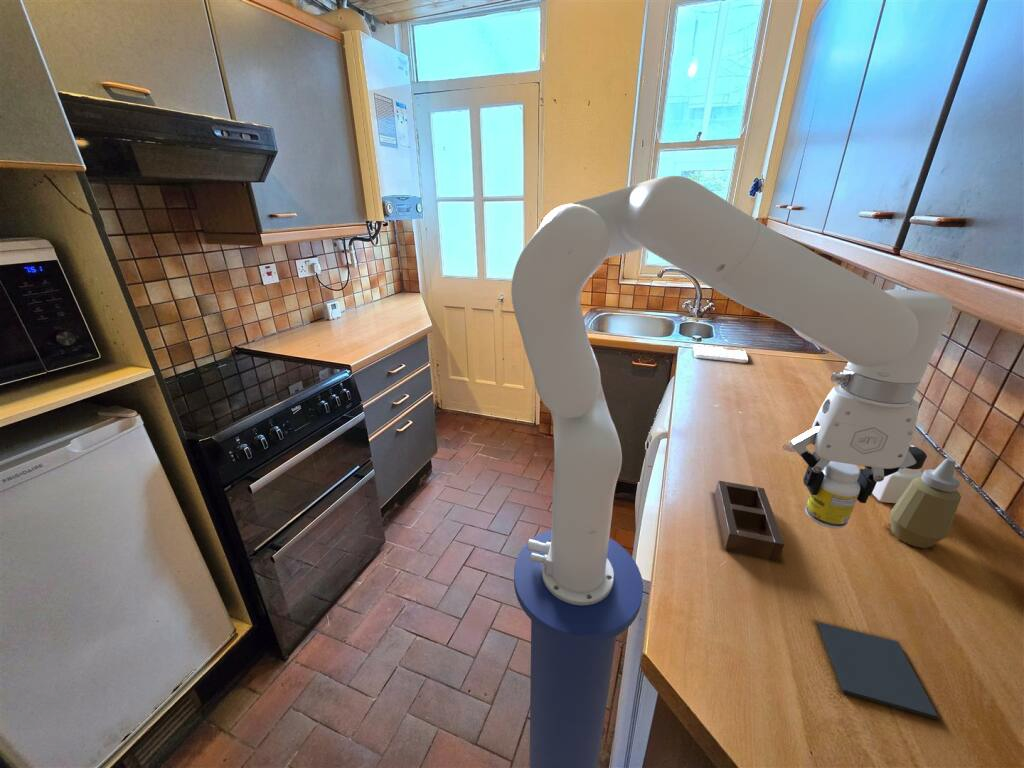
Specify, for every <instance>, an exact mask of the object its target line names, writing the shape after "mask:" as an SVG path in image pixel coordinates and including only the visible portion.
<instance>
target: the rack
mask: <svg viewBox="0 0 1024 768" xmlns="http://www.w3.org/2000/svg"><path fill="white" fill-rule="evenodd" d="M714 498H715V504H716V511H717V516H718V521H719V525H720V531H721V536H722V541H723V547H724V550H726V551H729V552H734V553H739V554H745V555H750V556H754V557H758V558H763V559H768V560H772V561H776V562H779V561H780V558H781V557H782V554H783V550H784V547H785V541H784V540H783V537H782V534H781V530H780V529H779V525H778V524H777V520H776V518H775V517H776V516H775V515H774V512H773V510H772V507H771V504H770V501H769V498H768V496H767V493H766V489H765V488H764V487H759V486H753V485H749V484H748V485H747V484H741V483H735V482H729V481H725V480H717V483H716V487H715V491H714ZM739 504H740V505H739ZM746 505H747V506H746ZM750 506H752V507H750ZM737 527H741V528H746V529H752V530H757V531H760V533H761V534H760V533H757V532H756V533H755V532H750V531H745V530H741V529H738V528H737Z"/></svg>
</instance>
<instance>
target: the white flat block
mask: <svg viewBox="0 0 1024 768" xmlns="http://www.w3.org/2000/svg"><path fill="white" fill-rule="evenodd" d="M699 345H700V346H701V347H700V346H699ZM698 346H699V347H698ZM709 346H710V347H709ZM713 346H714V345H705V346H704V344H693V356H694V358H697V359H704V360H705V359H706V360H714V361H723V362H734V363H742V364H743V363H744V364H746V363H748V362H749V357H748V354H747V352H746V350H745V349H743V350H744V351H741V350H727V349H724V348H726V347H724V348H723V346H715V347H713Z"/></svg>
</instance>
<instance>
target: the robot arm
mask: <svg viewBox="0 0 1024 768" xmlns="http://www.w3.org/2000/svg"><path fill="white" fill-rule="evenodd" d="M541 221H542V222H541V223H540V226H539V228H538V229H537V230H536V231H535V233H534V234H533V235H532V236H531V238H530V239H529V240H528V241H527V243H526V245H525V247H523V249H522V251H521V253H520V255H519V257H518V259H517V261H516V264H515V267H514V270H513V274H512V279H511V286H510V287H511V288H510V289H511V291H510V292H511V295H510V296H511V304H512V309H513V313H514V316H515V320H516V323H517V326H518V329H519V333H520V336H521V341H522V343H523V347H524V351H525V354H526V357H527V360H528V363H529V366H530V370H531V373H532V377H533V380H534V381H533V382H534V385H535V388H536V392H537V394H538V396H539V399H540V400H541V402H542V403H543V404H544V406H545V407H546V408H547V409H548V410H549V412H550V415H551V419H552V426H553V427H552V429H553V443H554V444H553V446H554V448H553V450H554V456H553V457H554V460H553V461H554V464H553V465H554V467H553V468H554V469H553V482H552V502H551V503H552V510H551V511H552V512H551V515H552V516H551V529H552V535H551V542H546V544H545V543H541V542H539V541H536V540H532V538H529V539H528V541H527V542H528V548H527V549H528V550H530V551H534V552H540V553H544V556H542V555H539V554H536V553H532V554H531V559H530V560H531V561H534V562H540V563H542V578H543V581H544V583H545V586H546V587H547V588H548V590H549V591H550V592H551V593H552V594H553V595H554V596H556V597H557V598H558V599H560V600H562V601H564V602H566V603H570V604H573V605H581V606H582V605H591V604H595V603H597V602H599V601H601V600H603V599H604V598H605V597H607V595H608V594H609V593H610V591H611V589H612V587H613V582H614V572H613V568H612V565H611V563H610V562H609V560H608V558H607V553H608V544H609V538H610V534H611V525H612V518H613V508H614V500H615V499H614V498H615V492H616V488H617V483H618V480H619V476H620V473H621V469H622V464H623V452H622V445H621V442H620V437H619V435H618V431H617V429H616V426H615V423H614V421H613V419H612V415H611V413H610V410H609V407H608V403H607V400H606V397H605V393H604V389H603V385H602V377H601V370H600V366H599V363H598V360H597V357H596V354H595V352H594V350H593V347H592V345H591V342H590V339H589V335H588V332H587V328H586V327H587V326H586V322H585V317H584V314H583V310H582V303H581V298H582V293H583V289H584V287H585V285H586V284H587V282H588V281H589V279H590V278H591V277H593V275H594V274H595V273H596V272H597V271H598V270H599V269H600V268H601V266H602V265H603V264H604V262H605V260H607V259H609V258H610V259H611V258H614V257H618V256H621V255H626V254H629V253H632V252H636V251H638V250H643V249H645V250H647V251H649V252H650V253H652V254H654V255H655V256H657V257H658V258H660V259H661V260H663V261H665V262H667V263H669V264H670V265H672V266H674V267H676V268H677V269H680V271H682V272H684V273H686V274H687V275H689V276H691V277H692V278H694V279H696V280H697V281H700V282H701V283H703V284H704V285H706V286H707V287H709V288H711V289H712V290H714V291H716V292H718V293H720V294H721V295H722V296H725V297H726V298H729V299H730V300H732V301H733V302H736V303H737V304H740V305H741V306H743V307H745V308H748V309H750V310H752V311H754V312H757V313H760V314H762V315H765V316H767V317H770V318H772V319H774V320H776V321H778V322H780V323H782V324H785V326H787V327H789V328H791V329H792V330H793V331H794V332H795V334H797V335H798V336H799V337H801V338H802V339H803V340H805V341H807V342H809V343H811V344H812V345H815V346H816V347H819V348H821V349H824V350H825V351H828V352H829V353H831V354H833V355H835V356H837V357H839V358H840V359H842V360H844V361H846V362H847V363H846V366H844V367H843V370H842V372H841V371H840V372H833V373H831V376H830V382H831V383H836V384H838V385H834V386H833V387H832V388H831V390H830V392H829V393H828V394H827V396H826V397H825V399H824V401H823V403H822V404H821V406H820V408H819V410H818V412H817V413H816V416H815V419H814V421H813V423H812V425H811V428H810V429H809V430H807V431H805V432H804V433H802V434H800V435H798V436H797V437H794V438H793V439H791V440H790V441H789V444H790V447H791V448H792V449H793V450H794V451H795V452H796V453H797V455H799V456H800V457H801V458H802V459H803V461H804V462H805V463H806V464H807V468H806V471H805V474H804V476H803V480H802V481H803V484H804V486H805V487H806V488H807V490H808V492H809V495H810V494H811V495H817V494H818V492H819V489H820V487H821V484H822V481H823V479H824V473H823V472H822V470H824V469H825V467H826V466H827V465H828V464H829V462H830V461H834V462H840V463H847V464H854V465H856V466H863V467H864V468H859V469H860V475H859V477H858V480H857V481H858V482H859V484H860V488H861V489H860V492H859V495H858V497H857V500H856V501H858V502H859V503H861V504H867V501H868V499H869V496H872V495H873V494H872V492H873V490H874V488H875V485H876V483H877V482H881V481H883V480H884V477H886V476H888V475H891V474H893V473H896V472H897V471H898V470H899V469H903V468H906V467H909V466H912V465H914V464H916V460H915V459H914V457H913V456H912V454H911V453H910V451H909V450H908V449H909V447H910V445H912V441H913V438H914V434H915V430H916V427H917V421H918V416H919V408H920V403H919V401H917V400H916V399H915V398H914V397H915V395H916V393H917V390H918V388H919V386H920V384H921V381H922V379H923V377H924V375H925V372H926V370H927V368H928V366H929V364H930V361H931V359H932V357H933V354H934V352H935V350H936V348H937V346H938V344H939V341H940V339H941V337H942V334H943V333H944V330H945V328H946V326H947V323H948V321H949V319H950V317H951V314H952V311H953V303H952V301H951V300H950V298H948V297H946V296H943V295H942V294H938V293H933V292H928V291H922V290H913V289H885V290H884V289H882V288H880V287H879V286H877V285H875V283H873V282H871V281H869V280H867V279H866V278H864V277H862V276H860V275H858V274H856V273H855V272H853V271H851V270H849V269H848V268H846V267H843V266H842V265H840V264H837V263H836V262H833V261H831V260H829V259H827V258H825V257H823V256H821V255H819V254H818V253H816V252H814V251H813V250H811V249H809V248H807V247H805V246H804V245H802V244H800V243H798V242H796V241H794V240H792V239H790V238H788V237H786V236H784V235H783V234H780V233H779V232H777V231H775V230H774V229H772V228H770V227H768V226H767V225H765V224H764V223H762V222H760V221H759V220H757V219H756V218H754V217H752V216H750V215H749V214H747V213H746V212H744V211H743V210H741V209H740V208H738V207H737V206H735V205H733V204H732V203H731V202H729V201H728V200H726V199H724V198H723V197H721V196H720V195H718V194H716V193H715V192H713V191H712V190H710V189H709V188H707V187H706V186H703V185H702V184H701V183H699V182H697V181H695V180H693V179H691V178H688V177H686V176H681V175H668V176H662V177H656V178H652V179H647V180H644V181H642V182H639V183H636V184H633V185H630V186H627V187H624V188H621V189H617V190H614V191H611V192H606V193H604V194H600V195H596V196H591V197H589V198H588V197H587V198H585V199H581V200H578V201H577V200H576V201H573V202H570V203H567V204H563V205H560V206H557V207H555V208H554V209H553V210H551V211H550V212H549V213H547V215H545V217H544V218H543V219H542V220H541ZM809 445H813V446H814V449H813V450H812V451H810V450H809V449H808V448H807V447H808V446H809Z"/></svg>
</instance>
